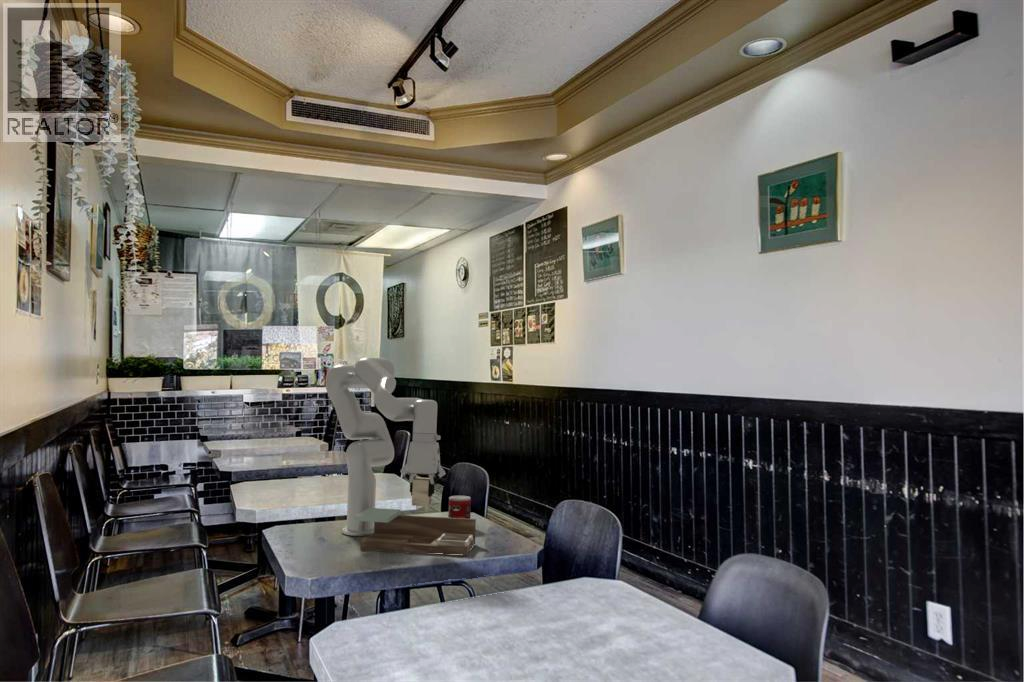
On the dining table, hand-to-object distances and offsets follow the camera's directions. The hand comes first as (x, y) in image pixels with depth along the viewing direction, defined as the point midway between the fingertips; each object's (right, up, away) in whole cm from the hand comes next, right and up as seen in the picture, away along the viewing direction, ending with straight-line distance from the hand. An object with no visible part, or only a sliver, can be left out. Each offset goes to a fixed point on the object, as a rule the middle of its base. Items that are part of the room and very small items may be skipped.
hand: (421, 494), depth 210 cm
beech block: (0, -3, 0) cm, 3 cm away
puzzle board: (-1, -17, -1) cm, 17 cm away
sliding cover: (-15, -8, +3) cm, 17 cm away
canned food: (+10, -19, +28) cm, 35 cm away
